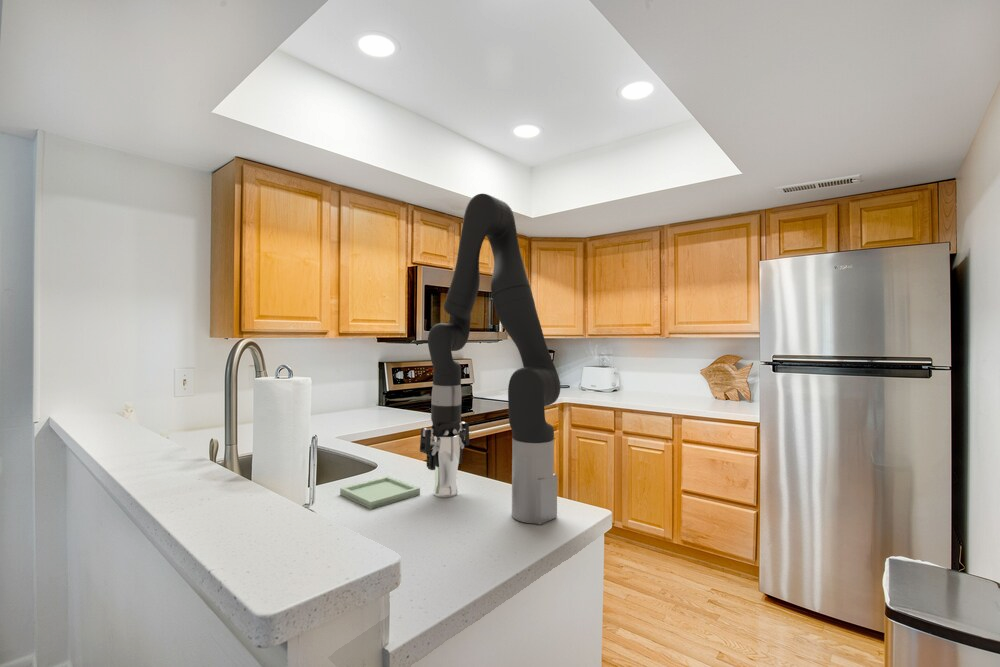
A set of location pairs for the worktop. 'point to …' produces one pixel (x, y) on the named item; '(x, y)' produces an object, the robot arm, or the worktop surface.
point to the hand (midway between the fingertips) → (444, 466)
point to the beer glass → (446, 466)
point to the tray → (379, 492)
